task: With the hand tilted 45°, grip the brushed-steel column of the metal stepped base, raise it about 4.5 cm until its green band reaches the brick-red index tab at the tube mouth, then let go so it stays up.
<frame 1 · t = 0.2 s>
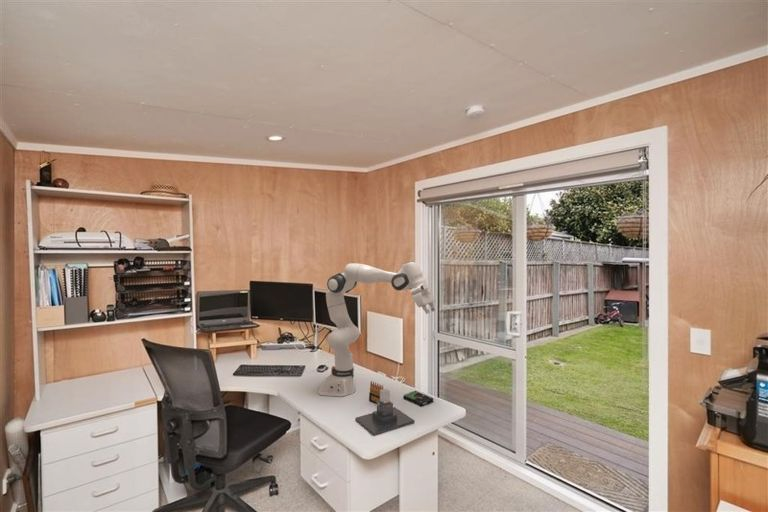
hand: (430, 312, 201), 54 cm above the table, tool tilted 25°, fingers open, 8 cm apart
metal stepped base: (384, 421, 190), on the table
column: (384, 404, 189), point 9 cm above the table, slide at 0.0 cm
ammunition clip: (376, 403, 212), on the table
disk drive: (418, 401, 216), on the table
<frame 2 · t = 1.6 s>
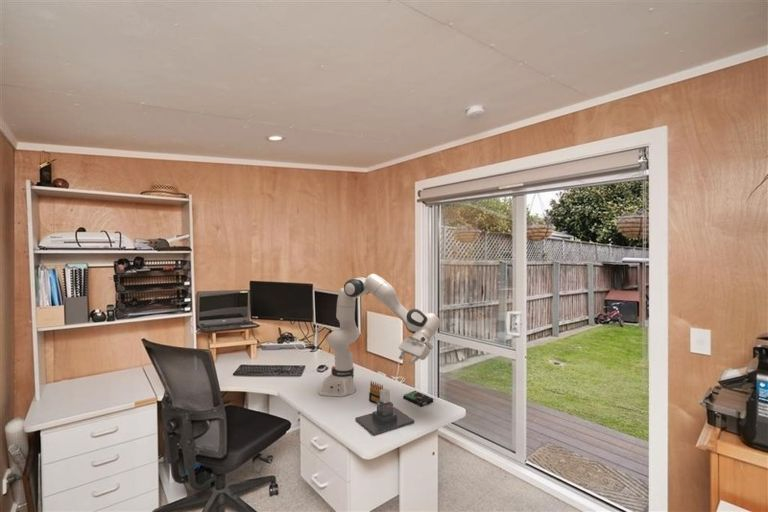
hand: (405, 361, 195), 29 cm above the table, tool tilted 45°, fingers open, 8 cm apart
nothing on the table moved.
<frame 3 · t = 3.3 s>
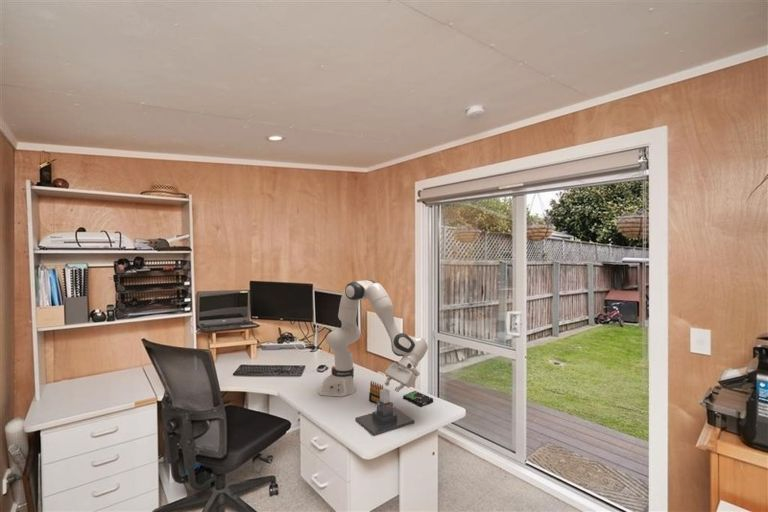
hand: (391, 388, 191), 17 cm above the table, tool tilted 45°, fingers open, 8 cm apart
nothing on the table moved.
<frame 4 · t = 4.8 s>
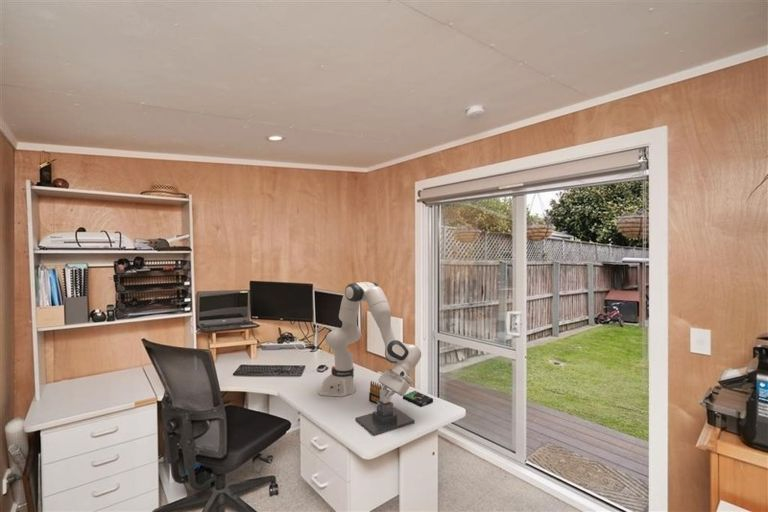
hand: (383, 396, 189), 13 cm above the table, tool tilted 45°, fingers closed on column, 4 cm apart
column: (384, 404, 189), point 9 cm above the table, slide at 0.0 cm, touching gripper
everything else where it was.
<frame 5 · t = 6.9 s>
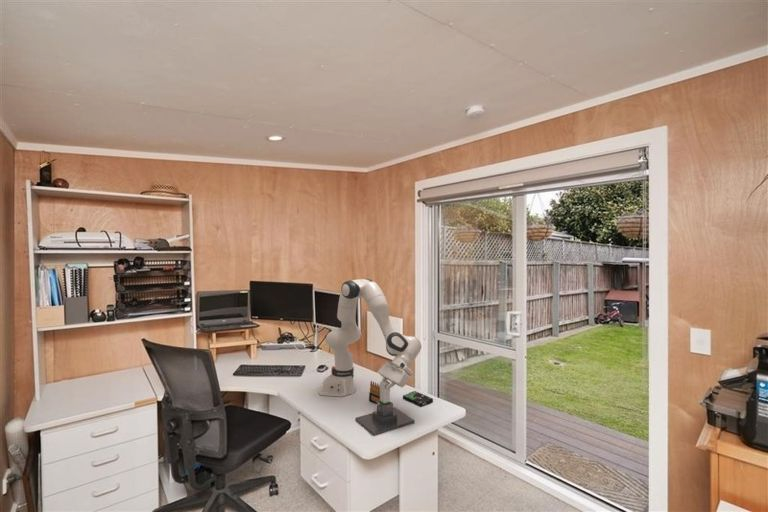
hand: (383, 387, 189), 18 cm above the table, tool tilted 45°, fingers closed on column, 4 cm apart
column: (384, 396, 189), point 13 cm above the table, slide at 4.3 cm, touching gripper
everything else where it was.
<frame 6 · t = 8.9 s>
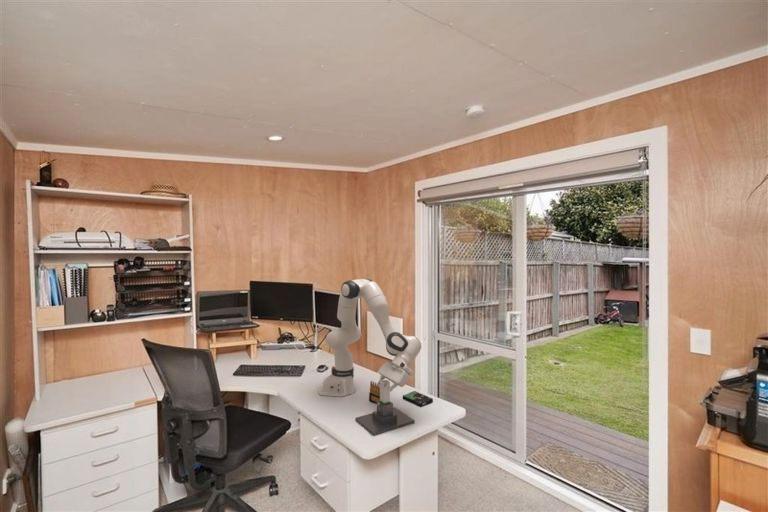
hand: (383, 387, 189), 18 cm above the table, tool tilted 45°, fingers open, 8 cm apart
column: (384, 395, 189), point 13 cm above the table, slide at 4.4 cm
everything else where it was.
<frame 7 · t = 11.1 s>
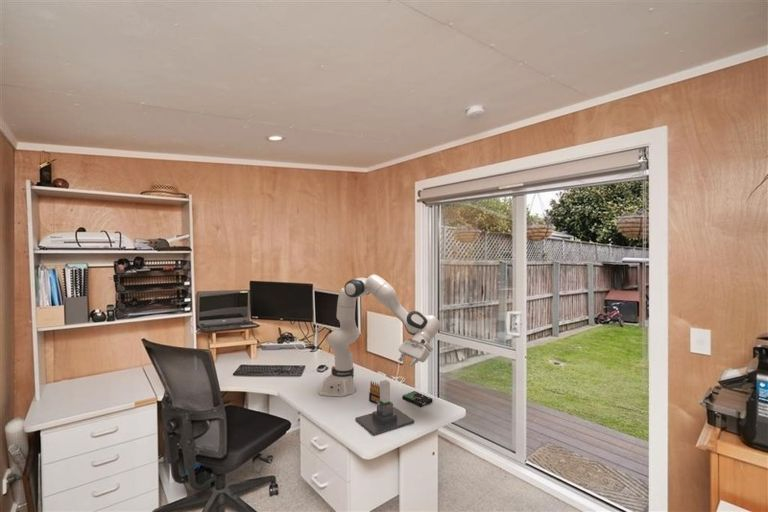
hand: (404, 363, 195), 28 cm above the table, tool tilted 45°, fingers open, 8 cm apart
nothing on the table moved.
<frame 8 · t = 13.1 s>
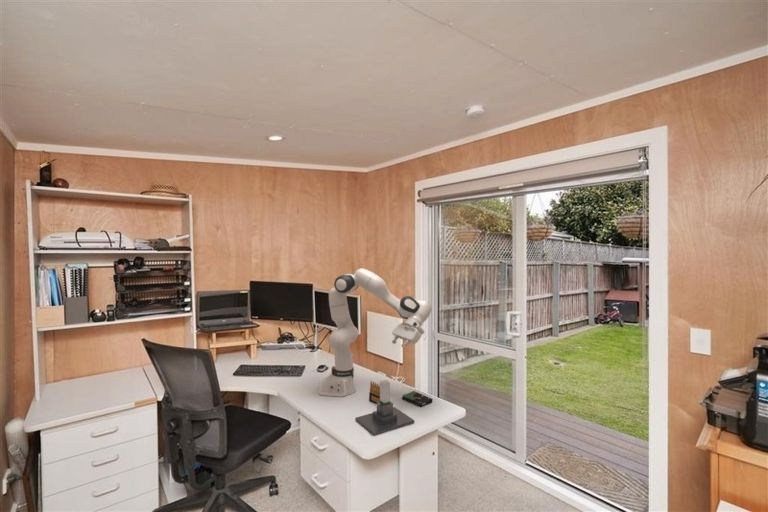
hand: (397, 345, 206), 34 cm above the table, tool tilted 45°, fingers open, 8 cm apart
nothing on the table moved.
at the end: column slide at 4.4 cm; the gripper is holding nothing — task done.
